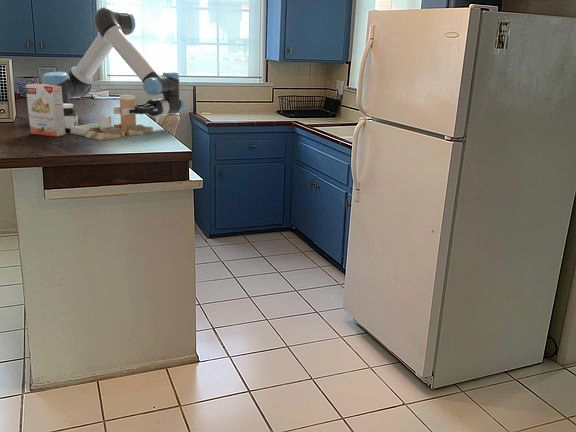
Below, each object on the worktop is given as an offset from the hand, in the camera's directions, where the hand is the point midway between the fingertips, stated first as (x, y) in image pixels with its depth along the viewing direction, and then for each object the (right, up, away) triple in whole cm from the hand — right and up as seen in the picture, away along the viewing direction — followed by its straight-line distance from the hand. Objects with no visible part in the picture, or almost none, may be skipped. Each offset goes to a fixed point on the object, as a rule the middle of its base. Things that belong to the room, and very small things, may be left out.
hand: (118, 111), depth 244 cm
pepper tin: (-4, -12, -3) cm, 13 cm away
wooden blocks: (0, -10, +3) cm, 10 cm away
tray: (-13, -9, +5) cm, 17 cm away
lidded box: (+2, -8, +7) cm, 11 cm away
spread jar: (-28, -6, +11) cm, 31 cm away
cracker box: (-30, -11, -2) cm, 31 cm away
